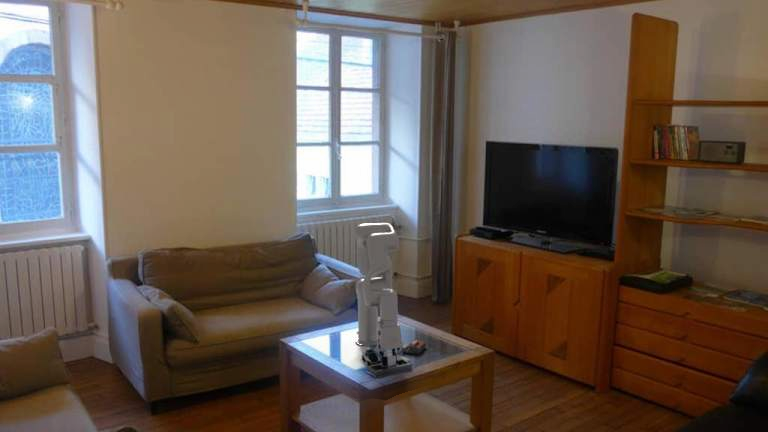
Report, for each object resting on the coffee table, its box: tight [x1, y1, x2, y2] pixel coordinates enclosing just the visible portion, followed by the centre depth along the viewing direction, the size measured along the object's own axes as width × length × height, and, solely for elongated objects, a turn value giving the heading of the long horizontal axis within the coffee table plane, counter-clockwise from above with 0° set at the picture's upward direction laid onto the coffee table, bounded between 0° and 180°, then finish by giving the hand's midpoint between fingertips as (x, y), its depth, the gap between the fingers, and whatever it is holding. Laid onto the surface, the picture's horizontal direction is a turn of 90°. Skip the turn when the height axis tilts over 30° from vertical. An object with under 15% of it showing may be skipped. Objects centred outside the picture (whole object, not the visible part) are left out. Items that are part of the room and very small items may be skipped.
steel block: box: [383, 352, 396, 368], centre depth 290 cm, size 4×4×7 cm
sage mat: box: [397, 354, 411, 362], centre depth 303 cm, size 7×7×1 cm
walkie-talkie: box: [397, 339, 426, 356], centre depth 313 cm, size 9×4×20 cm
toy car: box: [361, 348, 382, 367], centre depth 300 cm, size 6×12×5 cm, turn 16°
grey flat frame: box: [366, 358, 413, 378], centre depth 290 cm, size 18×8×2 cm, turn 122°
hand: (389, 363), depth 290 cm, fingers closed on steel block, 4 cm apart
